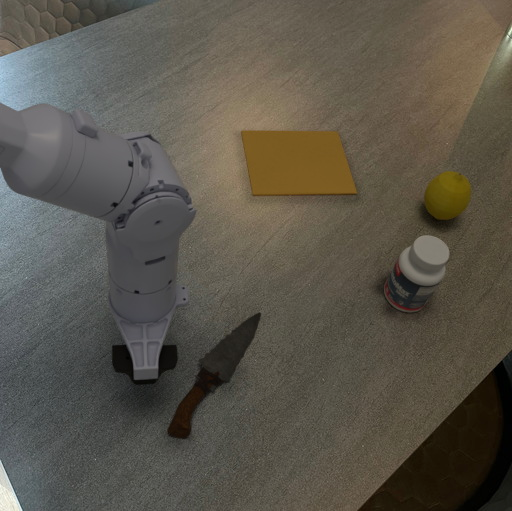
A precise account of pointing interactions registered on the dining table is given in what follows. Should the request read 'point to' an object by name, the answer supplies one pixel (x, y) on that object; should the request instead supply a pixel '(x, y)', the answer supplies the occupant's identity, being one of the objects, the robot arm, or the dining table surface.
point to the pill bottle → (417, 274)
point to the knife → (214, 373)
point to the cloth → (297, 163)
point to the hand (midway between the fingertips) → (143, 346)
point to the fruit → (447, 195)
